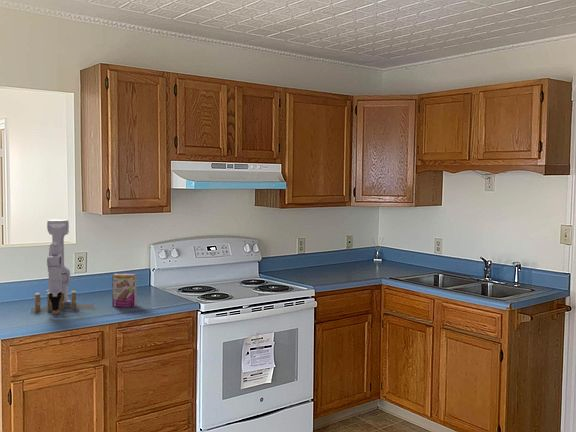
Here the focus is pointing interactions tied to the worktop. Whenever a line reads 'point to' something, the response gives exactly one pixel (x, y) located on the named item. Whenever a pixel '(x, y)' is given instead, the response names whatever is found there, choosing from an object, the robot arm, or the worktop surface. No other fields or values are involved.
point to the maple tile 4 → (73, 299)
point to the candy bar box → (124, 290)
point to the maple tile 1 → (37, 301)
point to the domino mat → (65, 308)
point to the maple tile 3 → (62, 301)
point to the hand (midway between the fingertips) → (55, 308)
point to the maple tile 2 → (49, 302)
